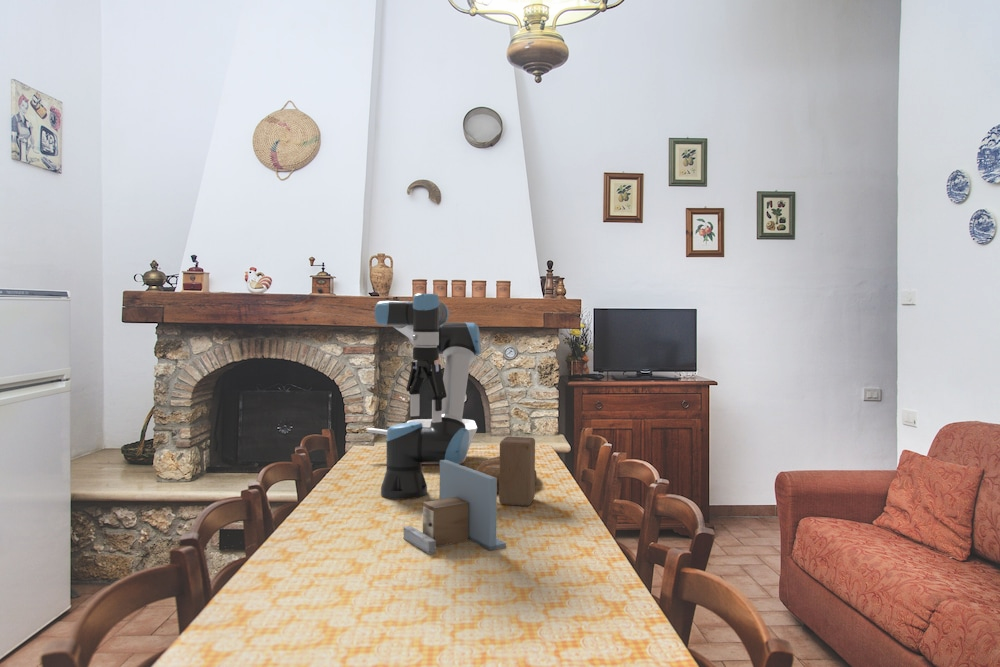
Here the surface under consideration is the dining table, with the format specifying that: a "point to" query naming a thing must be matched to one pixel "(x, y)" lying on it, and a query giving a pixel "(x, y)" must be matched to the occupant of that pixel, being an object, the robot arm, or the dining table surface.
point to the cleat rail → (420, 540)
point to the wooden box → (446, 520)
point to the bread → (492, 469)
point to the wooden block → (517, 471)
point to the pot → (469, 425)
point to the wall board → (473, 500)
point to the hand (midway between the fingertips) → (425, 419)
